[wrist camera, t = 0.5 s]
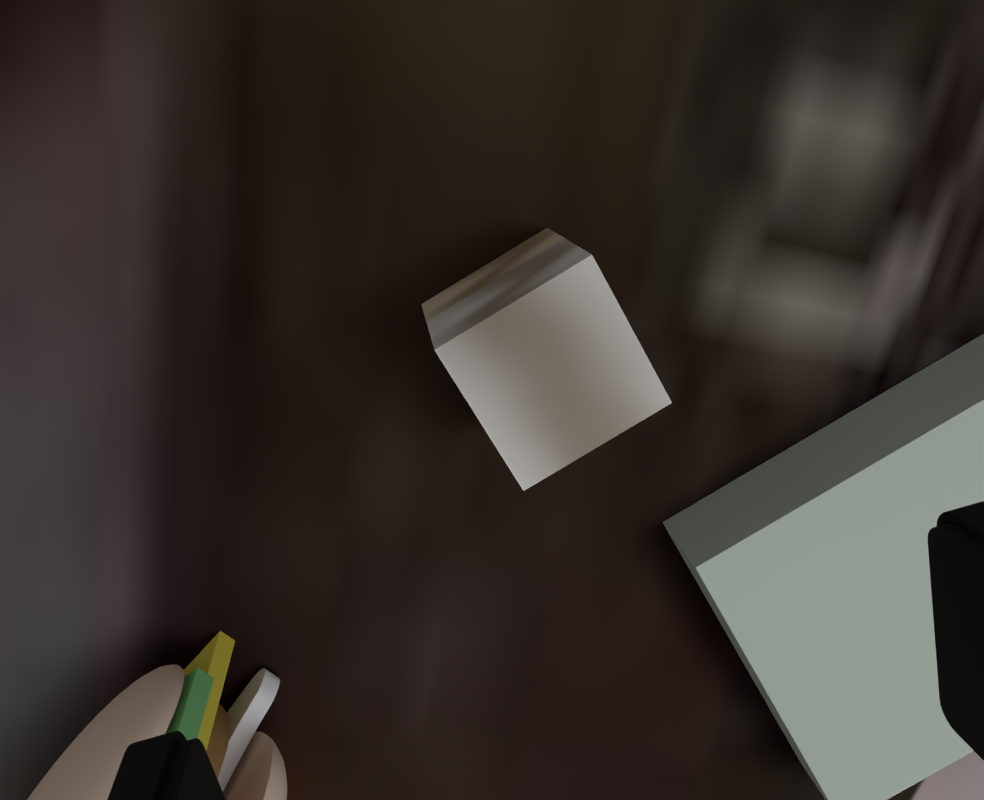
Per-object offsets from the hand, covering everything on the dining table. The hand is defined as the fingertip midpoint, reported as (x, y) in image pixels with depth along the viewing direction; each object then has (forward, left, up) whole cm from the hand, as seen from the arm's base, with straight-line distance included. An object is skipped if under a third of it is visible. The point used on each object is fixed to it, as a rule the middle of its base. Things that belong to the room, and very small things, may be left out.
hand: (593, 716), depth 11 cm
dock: (-12, +20, -24) cm, 33 cm away
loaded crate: (-2, +2, -24) cm, 24 cm away
